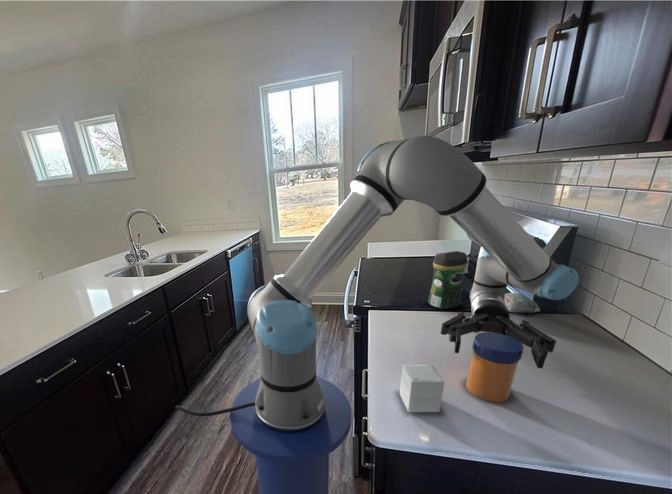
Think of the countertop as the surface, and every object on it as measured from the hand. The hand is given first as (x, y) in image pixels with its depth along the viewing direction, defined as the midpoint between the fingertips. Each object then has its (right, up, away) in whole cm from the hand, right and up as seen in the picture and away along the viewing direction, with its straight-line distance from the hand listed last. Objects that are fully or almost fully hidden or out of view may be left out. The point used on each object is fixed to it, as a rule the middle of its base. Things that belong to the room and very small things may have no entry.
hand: (497, 354), depth 62 cm
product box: (-14, -11, +3) cm, 18 cm away
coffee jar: (+15, +9, +47) cm, 50 cm away
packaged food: (+34, +7, +41) cm, 53 cm away
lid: (+1, +2, +1) cm, 2 cm away
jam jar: (+2, -8, +5) cm, 10 cm away
